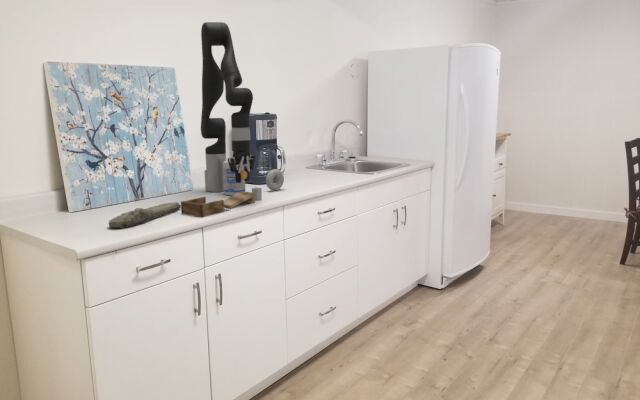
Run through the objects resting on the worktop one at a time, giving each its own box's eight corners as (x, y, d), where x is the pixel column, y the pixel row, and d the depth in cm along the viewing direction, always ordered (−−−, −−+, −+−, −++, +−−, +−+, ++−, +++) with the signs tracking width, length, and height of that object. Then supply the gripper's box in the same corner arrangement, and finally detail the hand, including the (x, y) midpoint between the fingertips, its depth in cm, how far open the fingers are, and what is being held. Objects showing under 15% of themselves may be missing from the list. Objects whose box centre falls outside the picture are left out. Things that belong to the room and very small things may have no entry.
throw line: (210, 206, 202) (210, 206, 202) (229, 210, 196) (229, 209, 196) (206, 207, 201) (206, 207, 201) (226, 211, 194) (226, 210, 194)
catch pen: (204, 208, 200) (203, 196, 199) (223, 211, 193) (223, 200, 193) (181, 213, 191) (180, 201, 190) (201, 217, 185) (200, 204, 184)
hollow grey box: (256, 198, 218) (256, 187, 217) (261, 199, 216) (261, 187, 215) (252, 199, 215) (251, 188, 214) (257, 200, 214) (256, 188, 213)
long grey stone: (188, 213, 199) (166, 212, 202) (187, 199, 198) (165, 199, 202) (125, 229, 166) (101, 229, 170) (124, 213, 166) (99, 213, 169)
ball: (235, 180, 206) (235, 170, 205) (240, 179, 210) (239, 169, 209) (244, 180, 205) (244, 170, 204) (249, 179, 208) (248, 169, 208)
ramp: (242, 200, 214) (242, 191, 213) (254, 202, 210) (254, 192, 209) (217, 206, 203) (217, 196, 202) (230, 208, 199) (229, 198, 198)
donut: (269, 192, 232) (268, 170, 230) (264, 191, 235) (263, 169, 233) (285, 189, 239) (285, 168, 237) (280, 188, 242) (280, 167, 240)
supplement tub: (227, 196, 223) (225, 163, 220) (221, 193, 231) (220, 160, 228) (248, 195, 227) (247, 161, 224) (242, 191, 235) (241, 159, 232)
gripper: (234, 140, 196) (236, 184, 199) (260, 138, 208) (261, 180, 211) (221, 139, 201) (223, 183, 204) (246, 137, 212) (248, 178, 215)
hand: (242, 181), depth 207 cm, fingers closed on ball, 4 cm apart
